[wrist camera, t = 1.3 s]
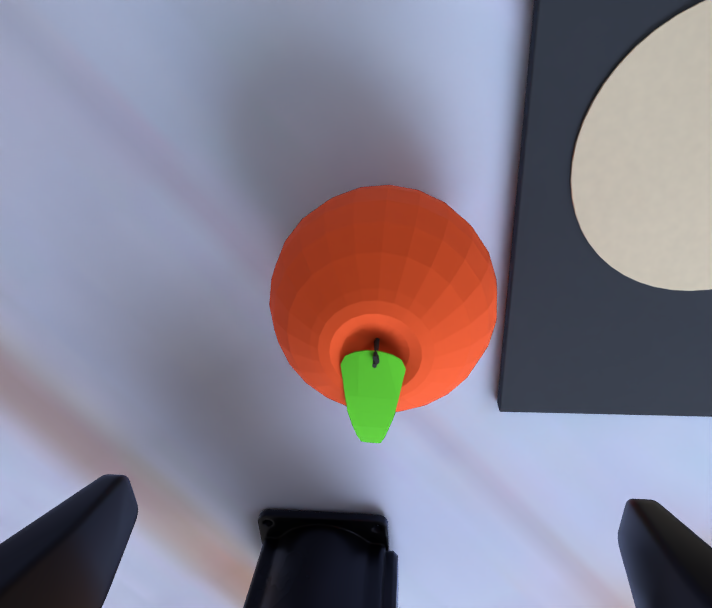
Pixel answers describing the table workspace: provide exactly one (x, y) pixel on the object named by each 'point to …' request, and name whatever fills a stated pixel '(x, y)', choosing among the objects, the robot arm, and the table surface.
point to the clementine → (383, 302)
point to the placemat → (613, 213)
